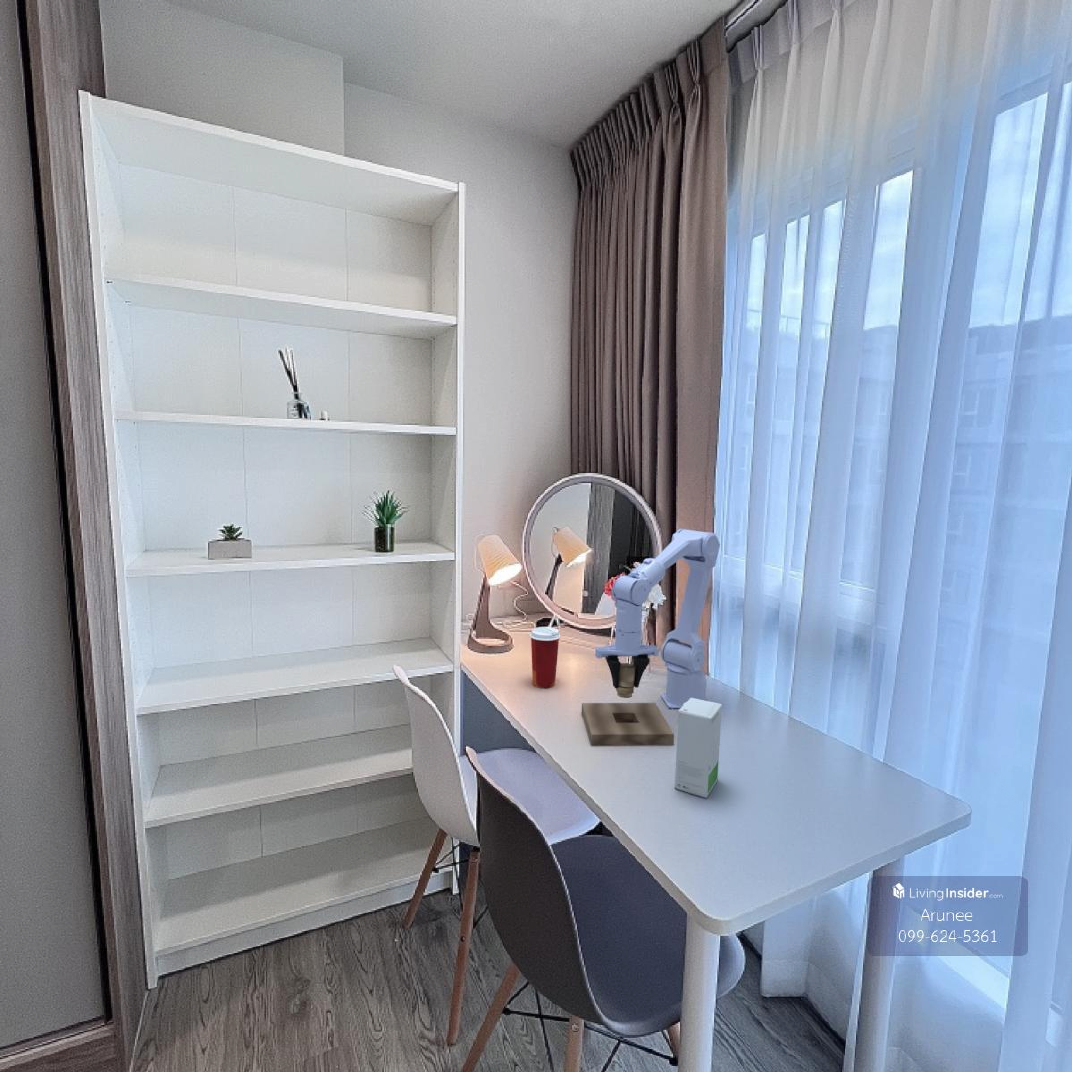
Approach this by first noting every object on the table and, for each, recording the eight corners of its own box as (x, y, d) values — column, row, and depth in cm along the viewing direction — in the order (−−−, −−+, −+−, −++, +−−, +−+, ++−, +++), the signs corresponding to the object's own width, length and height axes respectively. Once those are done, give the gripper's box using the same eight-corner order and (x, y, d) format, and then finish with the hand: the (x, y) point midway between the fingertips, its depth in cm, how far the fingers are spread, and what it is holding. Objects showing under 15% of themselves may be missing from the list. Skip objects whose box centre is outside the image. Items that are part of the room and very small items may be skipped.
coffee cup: (565, 684, 161) (566, 630, 159) (544, 692, 155) (546, 637, 153) (542, 675, 166) (543, 624, 164) (522, 683, 160) (523, 630, 158)
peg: (630, 692, 139) (632, 663, 138) (636, 698, 135) (638, 668, 134) (613, 692, 138) (615, 662, 138) (618, 698, 134) (620, 668, 133)
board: (654, 712, 144) (655, 702, 144) (673, 744, 129) (674, 734, 128) (581, 712, 143) (581, 703, 143) (591, 745, 127) (591, 734, 127)
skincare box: (706, 799, 108) (711, 719, 106) (671, 788, 112) (676, 710, 110) (718, 778, 116) (724, 703, 113) (685, 768, 119) (690, 695, 117)
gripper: (652, 623, 139) (649, 678, 141) (592, 624, 137) (590, 680, 139) (663, 632, 132) (660, 690, 134) (601, 634, 130) (598, 693, 132)
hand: (625, 686), depth 136 cm, fingers closed on peg, 4 cm apart
